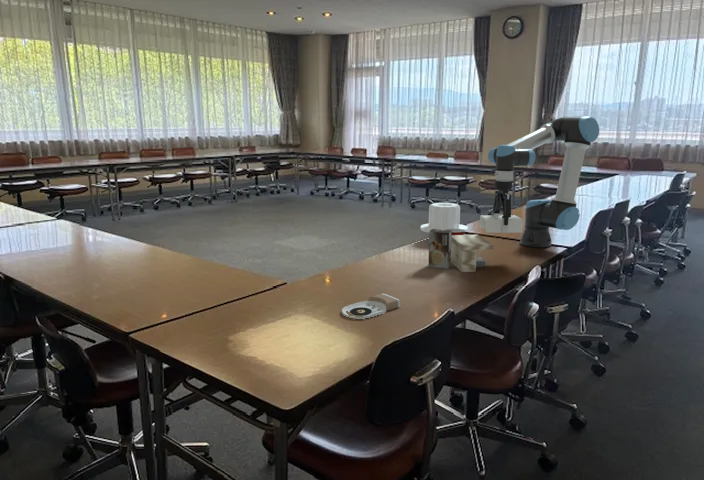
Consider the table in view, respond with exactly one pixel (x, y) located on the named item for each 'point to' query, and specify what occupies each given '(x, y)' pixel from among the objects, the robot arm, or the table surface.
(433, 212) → the ribbed cylinder on disc
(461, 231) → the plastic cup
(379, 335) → the table surface
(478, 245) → the beige boxy piece
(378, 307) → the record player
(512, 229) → the white block
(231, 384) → the table surface
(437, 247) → the coffee box
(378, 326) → the table surface
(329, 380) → the table surface
